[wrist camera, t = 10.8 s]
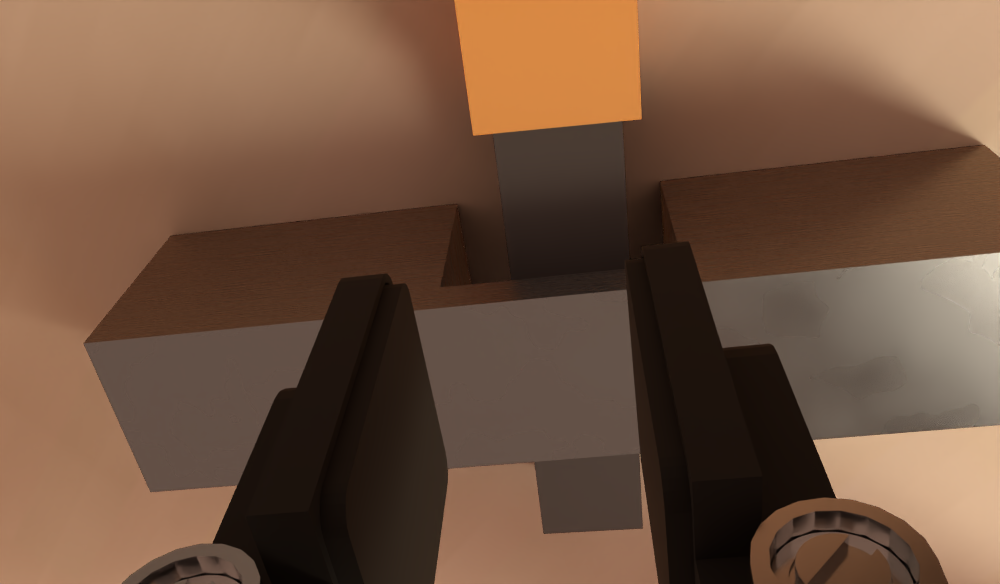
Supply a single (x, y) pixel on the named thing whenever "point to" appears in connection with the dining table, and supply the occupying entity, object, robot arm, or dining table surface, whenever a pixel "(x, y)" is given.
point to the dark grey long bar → (561, 181)
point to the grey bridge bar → (584, 317)
